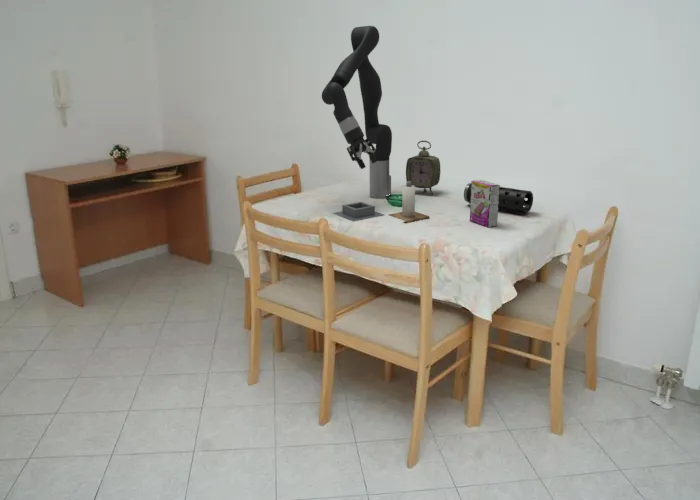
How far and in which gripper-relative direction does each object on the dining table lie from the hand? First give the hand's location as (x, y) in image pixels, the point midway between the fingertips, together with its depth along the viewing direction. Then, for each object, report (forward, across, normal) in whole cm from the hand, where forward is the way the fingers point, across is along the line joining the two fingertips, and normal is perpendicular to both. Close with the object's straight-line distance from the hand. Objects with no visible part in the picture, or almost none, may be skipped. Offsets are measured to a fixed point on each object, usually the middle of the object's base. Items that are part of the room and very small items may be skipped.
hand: (369, 165), depth 243 cm
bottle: (+25, -2, -7) cm, 26 cm away
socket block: (+16, -10, +9) cm, 22 cm away
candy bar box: (+41, +6, -32) cm, 52 cm away
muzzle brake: (+42, +29, -27) cm, 57 cm away
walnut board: (+26, -2, -7) cm, 27 cm away
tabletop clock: (+23, +40, +10) cm, 47 cm away
